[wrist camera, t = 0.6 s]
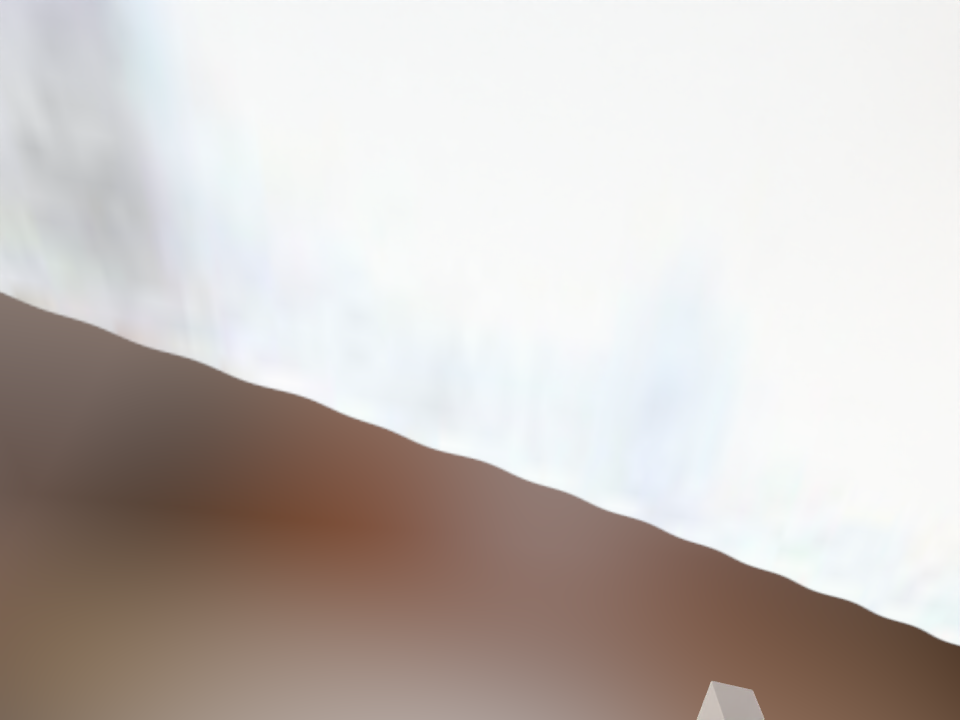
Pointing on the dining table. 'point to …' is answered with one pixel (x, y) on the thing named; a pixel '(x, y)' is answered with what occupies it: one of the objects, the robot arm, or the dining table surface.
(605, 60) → the dining table surface
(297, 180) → the dining table surface
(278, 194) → the dining table surface
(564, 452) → the dining table surface
